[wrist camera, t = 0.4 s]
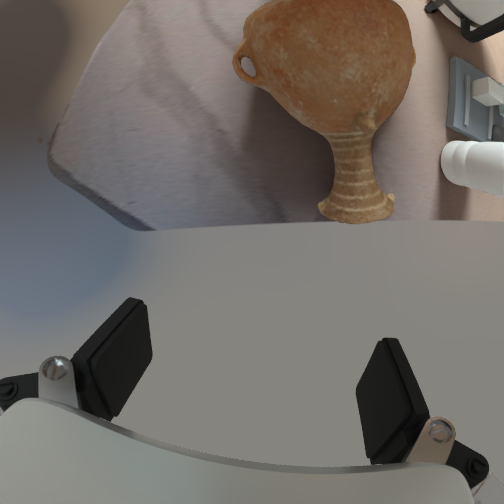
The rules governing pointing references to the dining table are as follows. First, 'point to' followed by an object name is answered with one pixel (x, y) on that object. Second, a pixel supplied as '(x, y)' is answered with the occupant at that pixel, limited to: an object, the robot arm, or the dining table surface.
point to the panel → (471, 106)
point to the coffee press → (472, 16)
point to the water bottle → (475, 165)
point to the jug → (335, 83)
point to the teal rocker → (503, 107)
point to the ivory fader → (487, 91)
